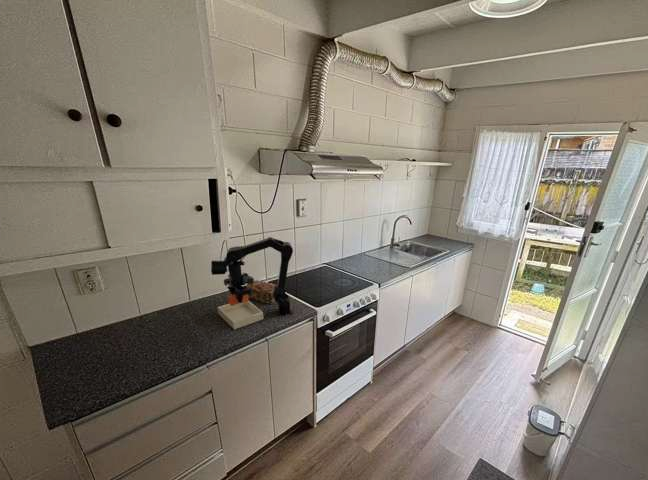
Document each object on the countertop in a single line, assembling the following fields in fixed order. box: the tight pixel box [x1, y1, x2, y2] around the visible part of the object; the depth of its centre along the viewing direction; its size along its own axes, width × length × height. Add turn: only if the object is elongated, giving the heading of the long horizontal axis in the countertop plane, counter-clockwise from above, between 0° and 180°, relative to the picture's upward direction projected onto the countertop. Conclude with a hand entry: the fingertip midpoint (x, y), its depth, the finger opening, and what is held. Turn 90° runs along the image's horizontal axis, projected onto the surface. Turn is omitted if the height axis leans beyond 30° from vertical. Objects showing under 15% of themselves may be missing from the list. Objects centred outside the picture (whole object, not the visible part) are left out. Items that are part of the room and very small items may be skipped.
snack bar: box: [227, 294, 250, 306], centre depth 152 cm, size 4×9×4 cm, turn 134°
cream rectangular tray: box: [217, 300, 264, 330], centre depth 155 cm, size 20×16×5 cm
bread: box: [246, 280, 277, 305], centre depth 175 cm, size 19×11×10 cm, turn 68°
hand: (238, 301), depth 153 cm, fingers closed on snack bar, 4 cm apart
